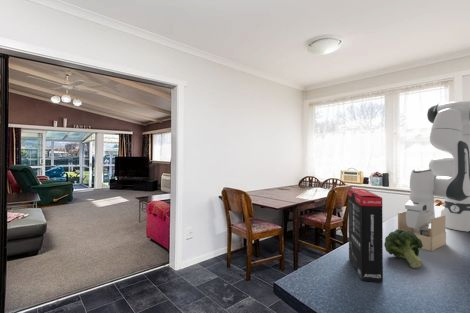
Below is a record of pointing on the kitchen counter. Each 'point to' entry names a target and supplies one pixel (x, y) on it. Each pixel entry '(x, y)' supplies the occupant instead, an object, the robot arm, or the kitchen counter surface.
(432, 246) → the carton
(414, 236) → the vegetable
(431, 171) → the robot arm
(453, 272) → the kitchen counter surface
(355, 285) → the kitchen counter surface
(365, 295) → the kitchen counter surface
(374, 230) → the graphics card box
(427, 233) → the pill bottle
